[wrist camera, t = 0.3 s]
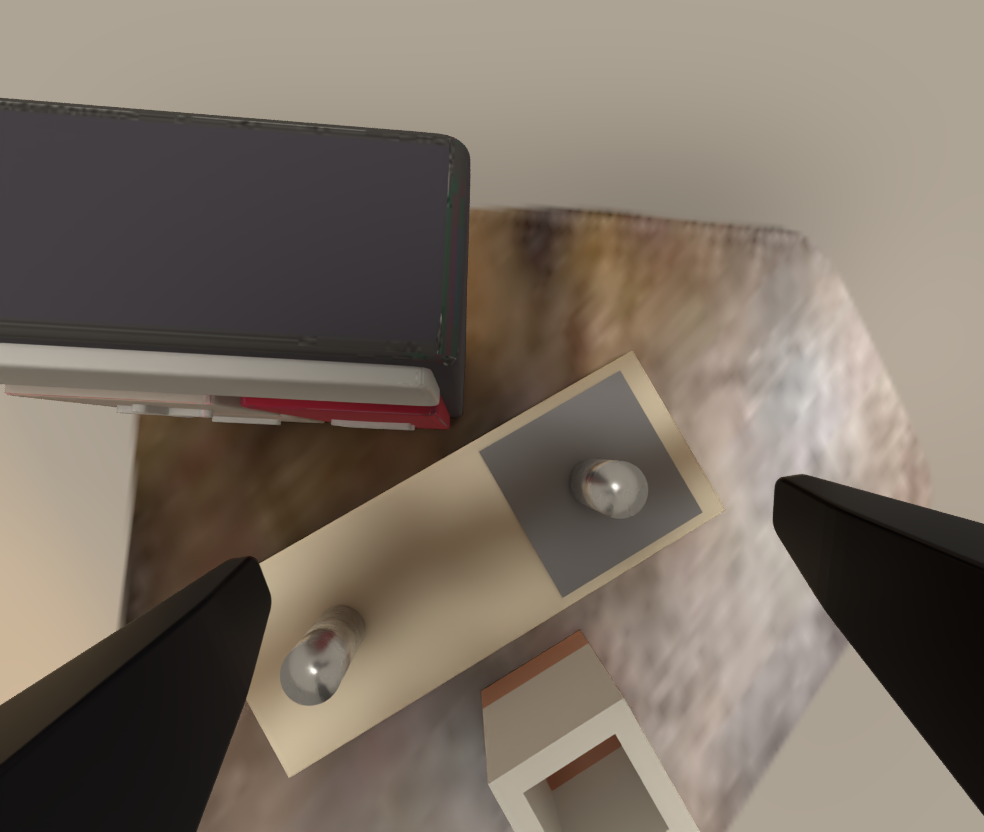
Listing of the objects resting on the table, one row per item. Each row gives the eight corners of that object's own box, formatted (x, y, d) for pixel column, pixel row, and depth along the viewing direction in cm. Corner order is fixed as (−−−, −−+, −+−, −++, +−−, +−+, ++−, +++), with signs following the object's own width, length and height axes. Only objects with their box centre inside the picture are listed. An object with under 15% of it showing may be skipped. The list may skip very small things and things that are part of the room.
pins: (622, 490, 21) (658, 500, 17) (330, 664, 20) (298, 717, 16) (598, 449, 21) (629, 450, 18) (306, 621, 20) (268, 663, 16)
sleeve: (637, 730, 22) (703, 837, 16) (539, 794, 21) (568, 928, 15) (580, 629, 22) (623, 697, 16) (481, 691, 22) (488, 784, 16)
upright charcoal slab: (207, 422, 22) (-367, 374, 7) (215, 324, 22) (-319, 65, 7) (461, 435, 22) (456, 415, 7) (466, 339, 22) (472, 129, 8)
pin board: (713, 507, 23) (727, 510, 21) (297, 762, 21) (287, 781, 20) (624, 354, 23) (633, 349, 22) (205, 594, 21) (190, 603, 20)
